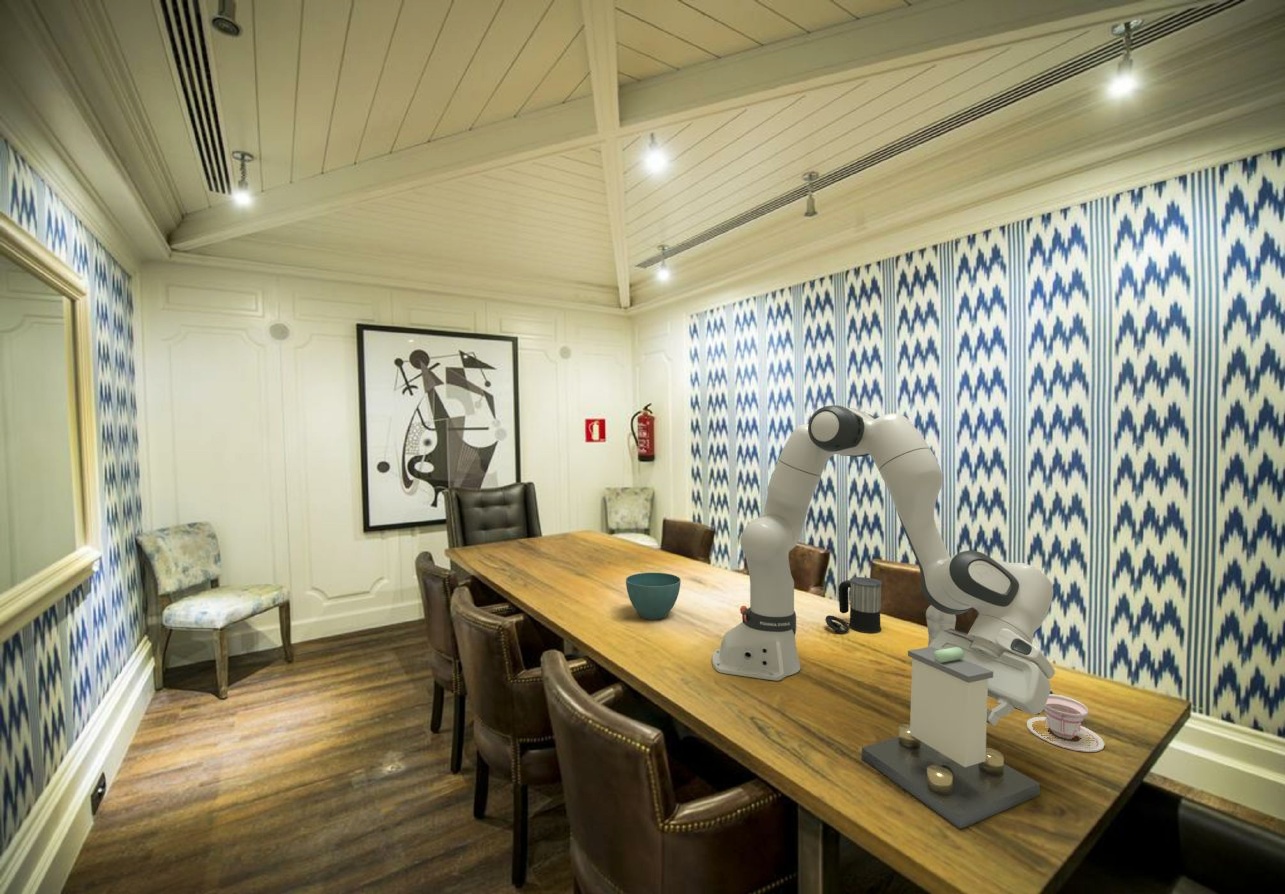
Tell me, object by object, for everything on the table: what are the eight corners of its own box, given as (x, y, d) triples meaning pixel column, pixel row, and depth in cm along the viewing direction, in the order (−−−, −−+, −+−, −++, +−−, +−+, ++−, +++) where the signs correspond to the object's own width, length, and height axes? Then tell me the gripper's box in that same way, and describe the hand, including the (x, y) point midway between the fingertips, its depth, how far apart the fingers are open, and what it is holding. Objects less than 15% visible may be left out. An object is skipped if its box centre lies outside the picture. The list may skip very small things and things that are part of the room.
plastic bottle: (961, 681, 126) (961, 598, 126) (930, 678, 128) (930, 597, 127) (950, 669, 133) (951, 591, 132) (921, 667, 134) (922, 589, 134)
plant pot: (623, 607, 182) (623, 572, 182) (675, 606, 184) (675, 571, 184) (628, 626, 164) (628, 587, 164) (685, 624, 166) (685, 585, 166)
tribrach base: (960, 829, 78) (960, 800, 78) (861, 758, 96) (861, 734, 96) (1039, 795, 86) (1039, 768, 86) (934, 735, 103) (934, 713, 103)
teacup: (1028, 713, 112) (1028, 684, 112) (1103, 733, 104) (1103, 702, 104) (1024, 738, 103) (1024, 706, 103) (1106, 761, 95) (1106, 727, 95)
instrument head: (965, 786, 84) (969, 664, 84) (905, 748, 95) (908, 639, 95) (990, 778, 87) (993, 659, 87) (928, 742, 97) (931, 635, 97)
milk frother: (886, 627, 162) (886, 580, 162) (868, 642, 151) (868, 591, 151) (840, 617, 172) (840, 572, 172) (820, 630, 160) (820, 582, 160)
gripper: (935, 616, 104) (900, 675, 100) (1049, 653, 85) (1012, 727, 82) (951, 635, 106) (917, 693, 102) (1066, 675, 87) (1030, 748, 83)
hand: (960, 709), depth 92 cm, fingers open, 8 cm apart
